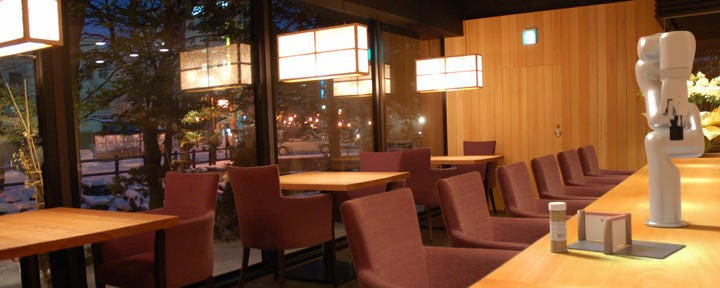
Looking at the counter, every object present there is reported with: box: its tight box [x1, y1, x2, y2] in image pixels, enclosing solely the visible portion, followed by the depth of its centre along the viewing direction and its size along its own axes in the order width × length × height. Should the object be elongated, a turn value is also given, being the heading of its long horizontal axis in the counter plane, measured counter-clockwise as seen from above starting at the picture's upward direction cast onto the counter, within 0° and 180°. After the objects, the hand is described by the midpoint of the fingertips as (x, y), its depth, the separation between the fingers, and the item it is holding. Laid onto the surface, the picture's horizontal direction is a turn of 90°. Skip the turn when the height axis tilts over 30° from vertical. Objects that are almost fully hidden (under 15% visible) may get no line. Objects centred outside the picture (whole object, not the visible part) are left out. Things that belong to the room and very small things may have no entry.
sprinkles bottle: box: [548, 201, 568, 254], centre depth 167 cm, size 5×5×14 cm
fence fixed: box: [576, 209, 633, 256], centre depth 171 cm, size 16×15×9 cm
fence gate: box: [601, 214, 626, 249], centre depth 167 cm, size 10×2×8 cm, turn 128°
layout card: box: [567, 239, 686, 260], centre depth 169 cm, size 20×26×1 cm
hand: (676, 140), depth 173 cm, fingers closed
